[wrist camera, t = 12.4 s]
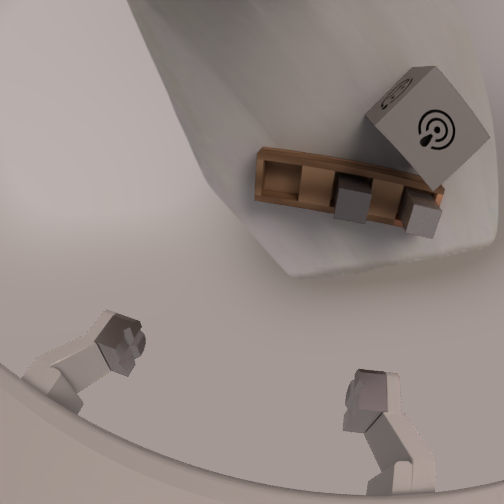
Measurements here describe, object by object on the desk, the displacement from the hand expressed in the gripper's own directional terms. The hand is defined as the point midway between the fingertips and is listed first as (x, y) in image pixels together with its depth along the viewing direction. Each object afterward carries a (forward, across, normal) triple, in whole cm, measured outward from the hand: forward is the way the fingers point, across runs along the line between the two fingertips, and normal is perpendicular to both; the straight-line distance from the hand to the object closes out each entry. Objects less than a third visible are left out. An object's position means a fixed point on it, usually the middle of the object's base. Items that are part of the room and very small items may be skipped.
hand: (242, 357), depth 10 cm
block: (+35, -6, +6) cm, 36 cm away
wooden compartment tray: (+36, -6, +6) cm, 37 cm away
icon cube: (+36, -14, -5) cm, 39 cm away
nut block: (+35, -16, +6) cm, 39 cm away
